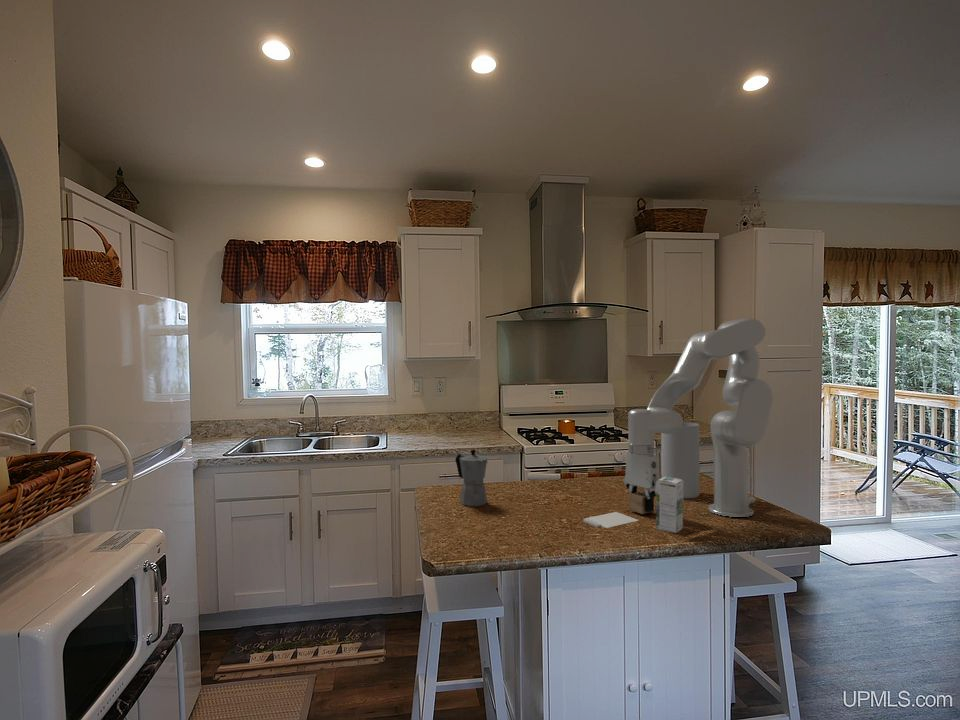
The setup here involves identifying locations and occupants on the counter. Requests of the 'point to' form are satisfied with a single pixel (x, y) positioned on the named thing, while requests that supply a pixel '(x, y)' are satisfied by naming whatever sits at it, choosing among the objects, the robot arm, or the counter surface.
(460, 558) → the counter surface
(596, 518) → the clipboard
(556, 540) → the counter surface
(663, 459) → the cylinder vase
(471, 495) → the coffeepot
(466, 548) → the counter surface
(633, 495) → the walnut block
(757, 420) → the robot arm
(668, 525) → the syrup box
